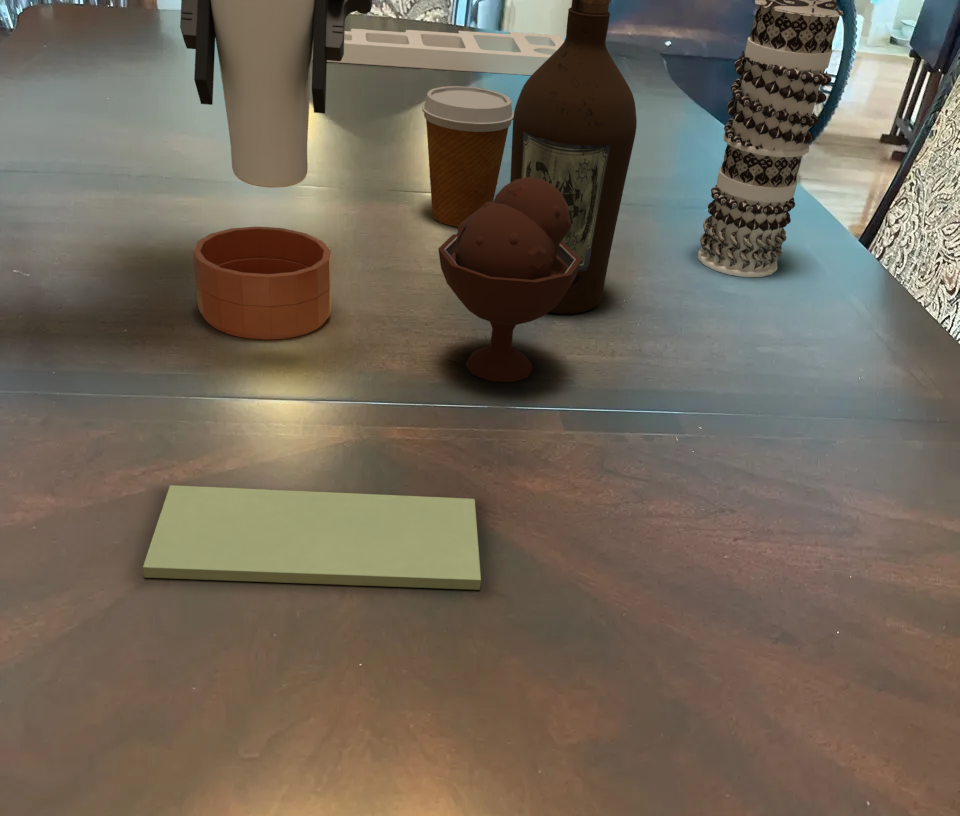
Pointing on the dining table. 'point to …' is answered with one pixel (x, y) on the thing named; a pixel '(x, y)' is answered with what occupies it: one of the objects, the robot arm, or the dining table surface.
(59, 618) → the dining table surface
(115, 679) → the dining table surface
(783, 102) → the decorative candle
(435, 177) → the disposable coffee cup
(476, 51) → the holder
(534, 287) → the ice cream bowl
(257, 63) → the drinking glass
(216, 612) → the dining table surface
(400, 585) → the mat
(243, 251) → the pot
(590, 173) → the olive oil
